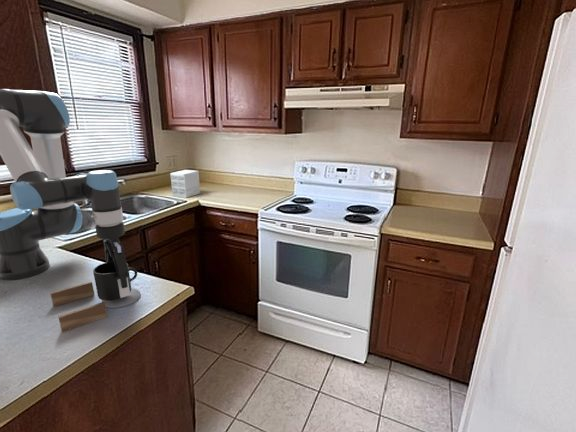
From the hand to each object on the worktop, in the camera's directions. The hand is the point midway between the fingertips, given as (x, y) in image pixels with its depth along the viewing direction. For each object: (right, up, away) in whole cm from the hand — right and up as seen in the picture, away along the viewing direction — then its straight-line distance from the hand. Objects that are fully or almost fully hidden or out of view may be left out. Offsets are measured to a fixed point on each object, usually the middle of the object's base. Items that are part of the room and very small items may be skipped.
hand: (120, 289), depth 100 cm
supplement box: (-24, +39, +141) cm, 149 cm away
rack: (-9, -5, -6) cm, 12 cm away
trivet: (0, -3, +1) cm, 3 cm away
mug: (0, -1, 0) cm, 1 cm away
